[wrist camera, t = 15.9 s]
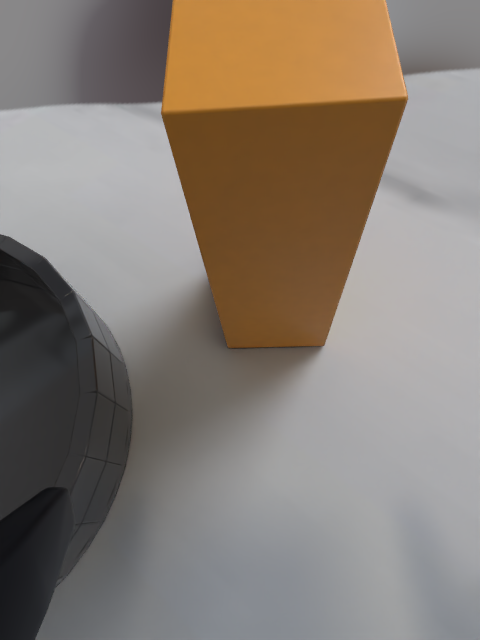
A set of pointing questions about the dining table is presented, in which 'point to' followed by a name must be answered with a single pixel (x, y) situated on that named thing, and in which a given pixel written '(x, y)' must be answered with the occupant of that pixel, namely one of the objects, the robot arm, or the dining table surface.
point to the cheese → (280, 151)
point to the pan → (58, 396)
